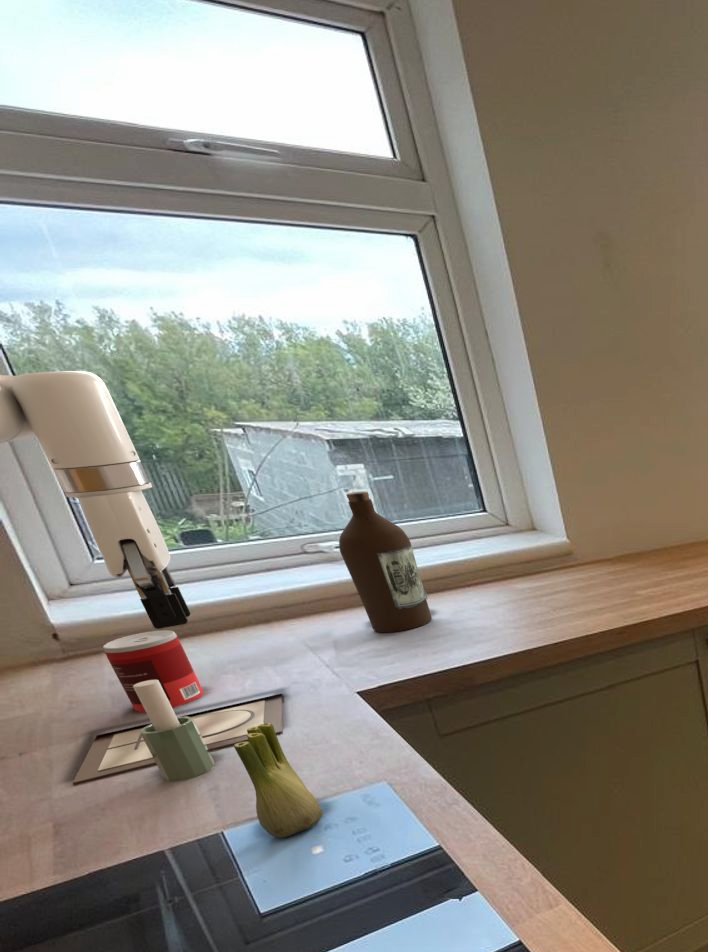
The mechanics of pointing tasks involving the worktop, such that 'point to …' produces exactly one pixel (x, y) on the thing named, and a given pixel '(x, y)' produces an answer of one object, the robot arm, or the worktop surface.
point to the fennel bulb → (276, 785)
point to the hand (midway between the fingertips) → (173, 620)
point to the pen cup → (179, 750)
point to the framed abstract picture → (214, 726)
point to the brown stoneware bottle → (383, 568)
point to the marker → (156, 705)
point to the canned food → (153, 666)
